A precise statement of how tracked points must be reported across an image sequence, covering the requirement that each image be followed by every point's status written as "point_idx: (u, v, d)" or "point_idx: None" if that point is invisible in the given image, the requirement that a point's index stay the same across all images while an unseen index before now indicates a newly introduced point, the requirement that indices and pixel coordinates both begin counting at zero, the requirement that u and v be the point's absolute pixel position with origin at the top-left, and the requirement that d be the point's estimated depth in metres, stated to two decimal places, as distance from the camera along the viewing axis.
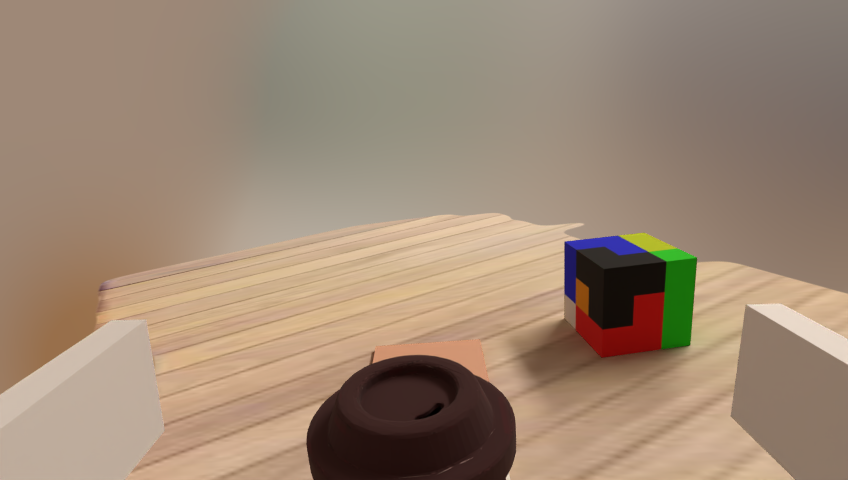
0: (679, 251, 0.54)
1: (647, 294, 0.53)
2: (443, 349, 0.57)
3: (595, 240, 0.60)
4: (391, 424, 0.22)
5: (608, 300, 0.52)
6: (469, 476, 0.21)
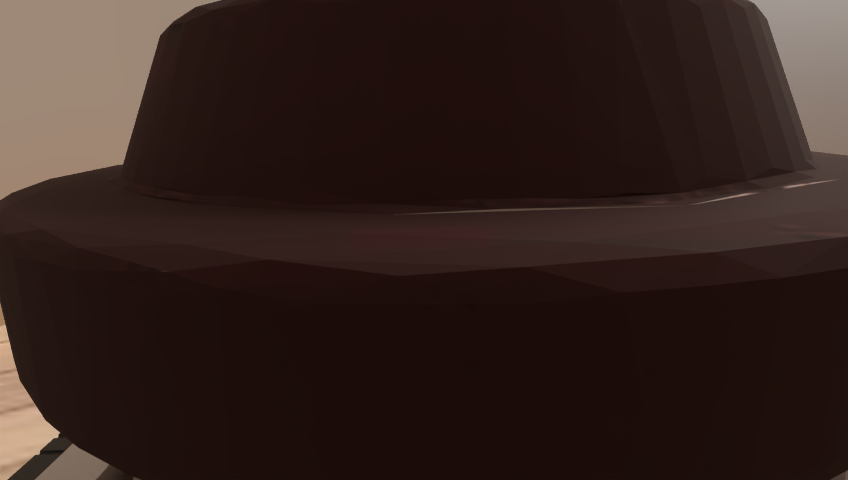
0: None
1: None
2: None
3: None
4: None
5: None
6: None
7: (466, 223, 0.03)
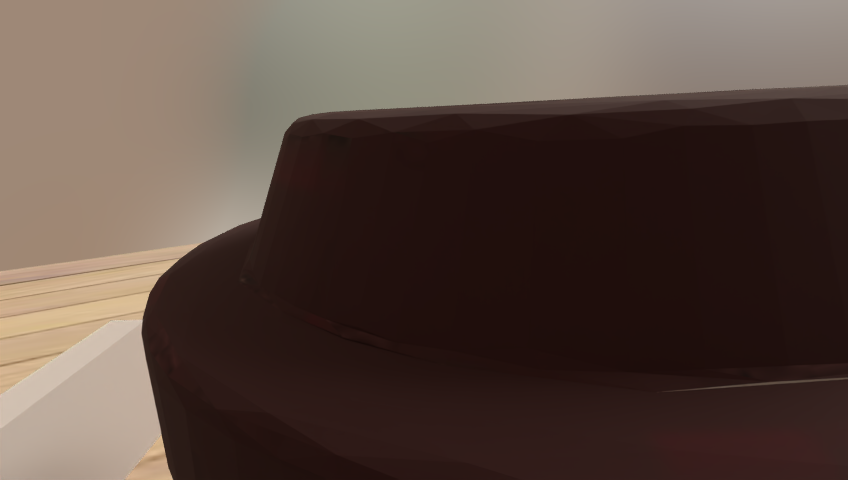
0: None
1: None
2: None
3: None
4: (585, 99, 0.04)
5: None
6: None
7: (762, 417, 0.03)
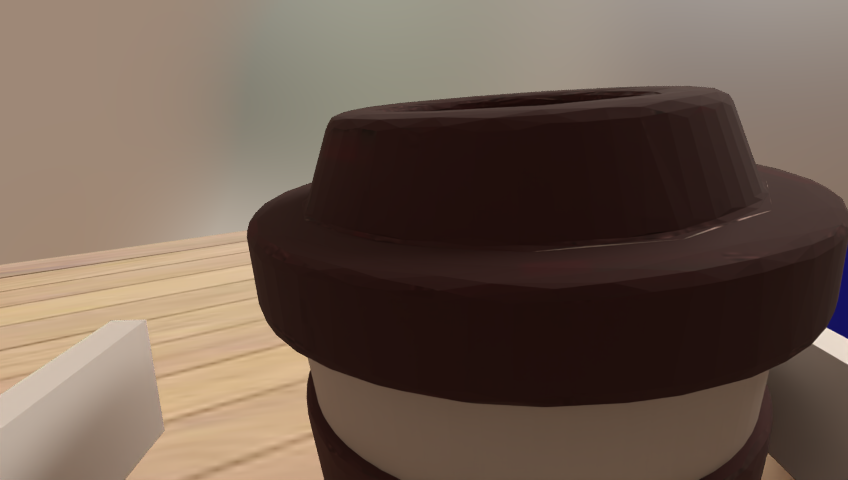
0: None
1: None
2: None
3: None
4: (506, 107, 0.07)
5: None
6: (803, 239, 0.06)
7: (572, 257, 0.06)
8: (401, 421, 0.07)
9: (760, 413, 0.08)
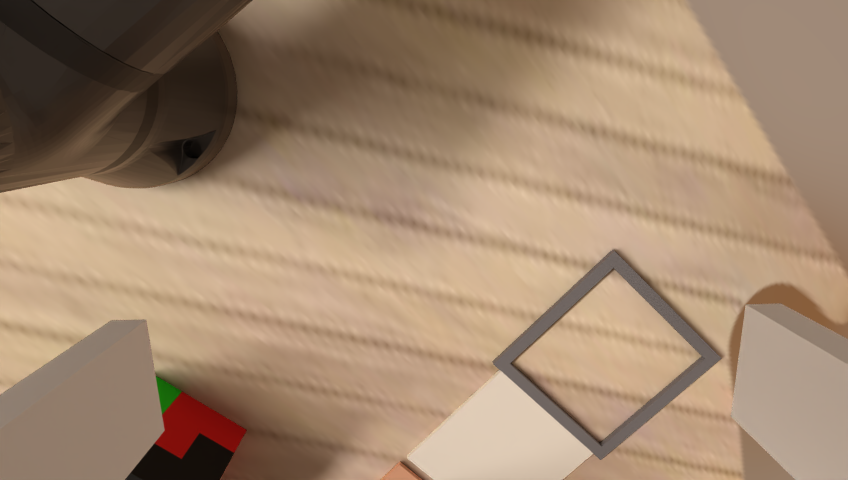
0: None
1: (165, 448, 0.40)
2: None
3: None
4: None
5: (213, 475, 0.40)
6: None
7: None
8: None
9: None
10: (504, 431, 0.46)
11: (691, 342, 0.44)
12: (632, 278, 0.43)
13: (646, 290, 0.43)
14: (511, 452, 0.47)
